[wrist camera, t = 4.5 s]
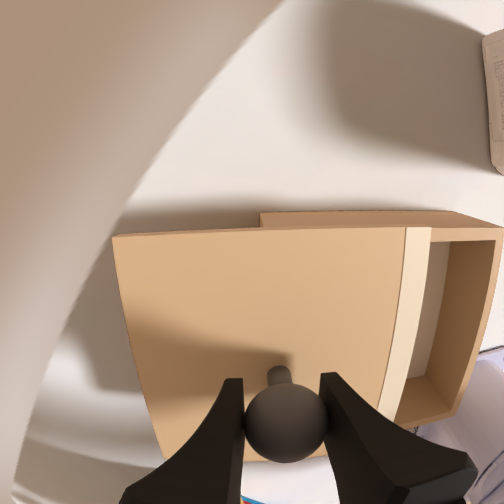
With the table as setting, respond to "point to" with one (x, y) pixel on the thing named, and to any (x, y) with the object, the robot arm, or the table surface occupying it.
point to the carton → (435, 302)
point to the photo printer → (495, 94)
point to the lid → (270, 324)
